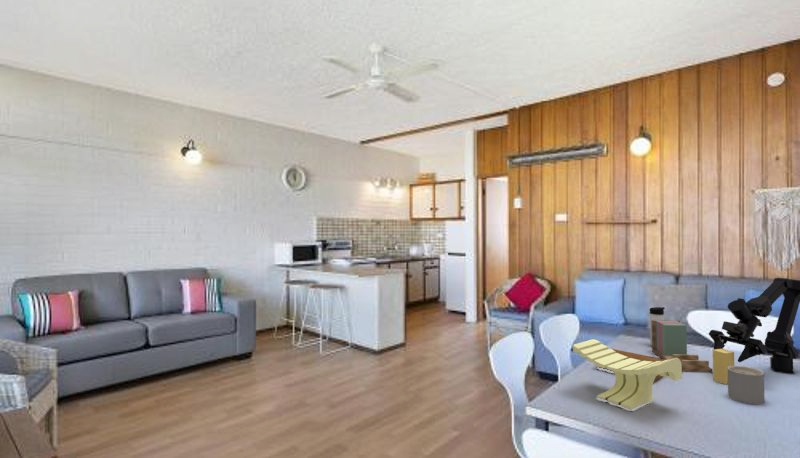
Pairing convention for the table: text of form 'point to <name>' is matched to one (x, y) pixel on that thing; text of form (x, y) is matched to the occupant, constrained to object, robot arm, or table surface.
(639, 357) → the diary
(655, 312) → the travel mug
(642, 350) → the table surface
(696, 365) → the shelf slot board
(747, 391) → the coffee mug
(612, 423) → the table surface
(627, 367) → the slatted curved stool
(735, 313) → the robot arm
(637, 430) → the table surface
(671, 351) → the book row
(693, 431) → the table surface
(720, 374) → the pale yellow cuboid
